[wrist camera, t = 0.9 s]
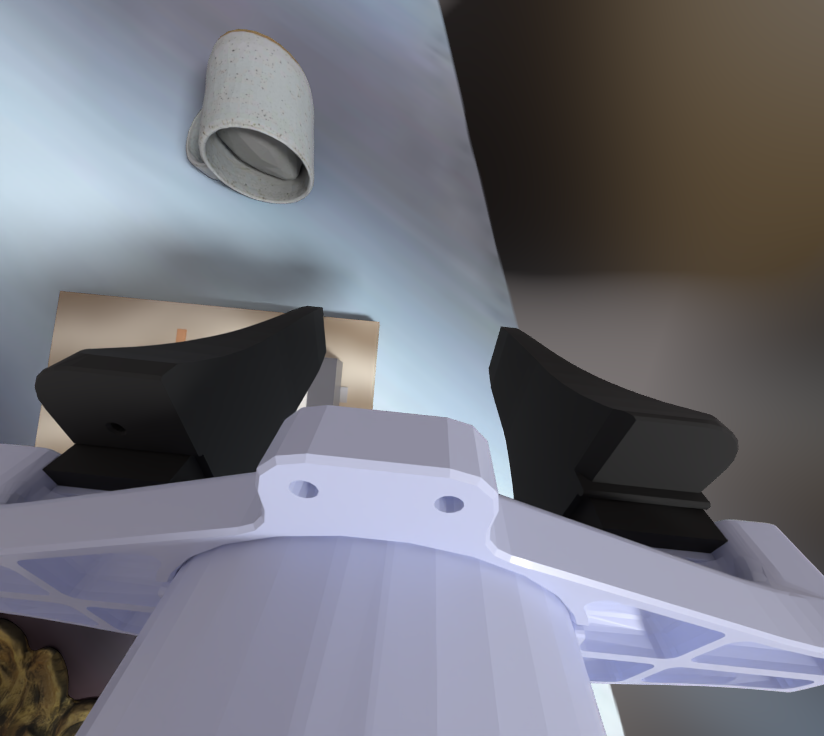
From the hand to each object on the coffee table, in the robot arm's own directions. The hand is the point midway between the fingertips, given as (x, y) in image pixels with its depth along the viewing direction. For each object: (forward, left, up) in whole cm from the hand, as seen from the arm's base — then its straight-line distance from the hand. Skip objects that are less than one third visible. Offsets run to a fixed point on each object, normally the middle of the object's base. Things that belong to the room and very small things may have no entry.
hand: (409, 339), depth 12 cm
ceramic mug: (+16, +12, -13) cm, 24 cm away
